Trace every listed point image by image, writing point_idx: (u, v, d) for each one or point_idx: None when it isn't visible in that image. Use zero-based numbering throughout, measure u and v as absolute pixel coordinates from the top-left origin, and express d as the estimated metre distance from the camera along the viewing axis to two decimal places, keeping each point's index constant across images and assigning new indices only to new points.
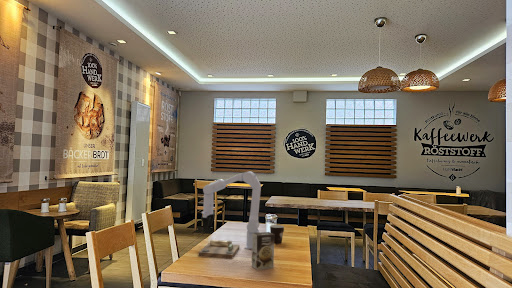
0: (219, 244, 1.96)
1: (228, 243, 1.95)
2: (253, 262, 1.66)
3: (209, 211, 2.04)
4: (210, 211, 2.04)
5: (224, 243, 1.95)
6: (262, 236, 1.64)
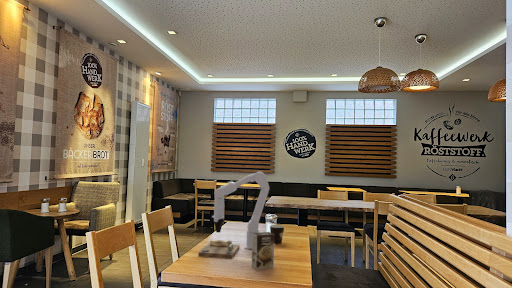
0: (219, 244, 1.96)
1: (228, 243, 1.95)
2: (253, 262, 1.66)
3: (220, 215, 2.00)
4: (221, 215, 2.01)
5: (224, 243, 1.95)
6: (262, 236, 1.64)
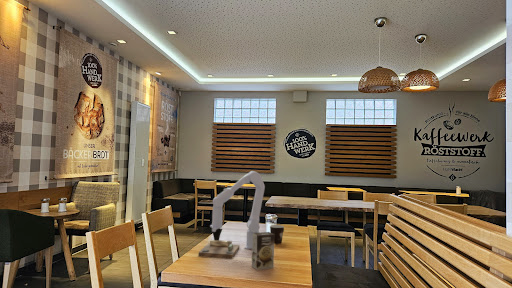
0: (219, 244, 1.96)
1: (228, 243, 1.95)
2: (253, 262, 1.66)
3: (218, 225, 1.97)
4: (219, 225, 1.97)
5: (224, 243, 1.95)
6: (262, 236, 1.64)
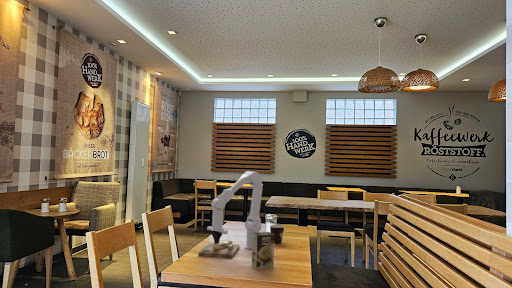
0: (223, 246, 1.91)
1: (230, 243, 1.95)
2: (253, 262, 1.66)
3: (222, 227, 1.91)
4: (222, 227, 1.92)
5: (227, 244, 1.93)
6: (262, 236, 1.64)
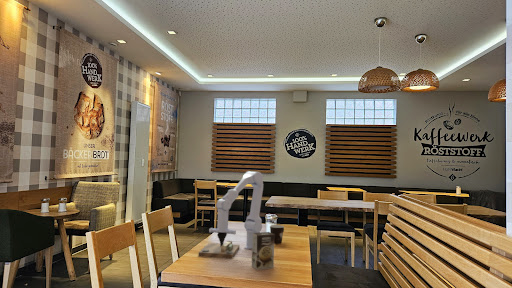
0: None
1: (231, 243, 1.95)
2: (253, 262, 1.66)
3: None
4: None
5: None
6: (262, 236, 1.64)
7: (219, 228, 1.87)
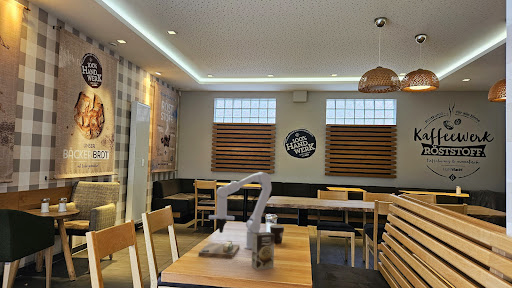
0: None
1: (231, 243, 1.96)
2: (253, 262, 1.66)
3: None
4: None
5: None
6: (262, 236, 1.64)
7: (219, 214, 1.95)
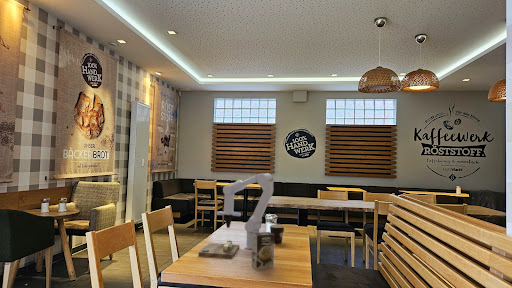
0: None
1: (231, 243, 1.96)
2: (253, 262, 1.66)
3: None
4: None
5: None
6: (262, 236, 1.64)
7: (226, 211, 2.08)
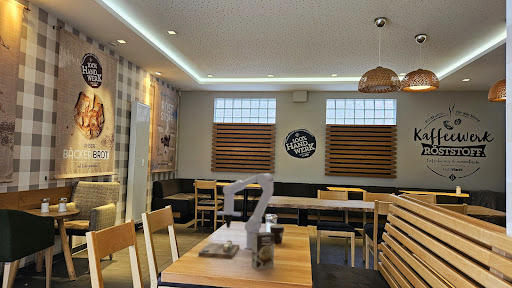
0: None
1: (231, 243, 1.96)
2: (253, 262, 1.66)
3: None
4: None
5: None
6: (262, 236, 1.64)
7: (226, 211, 2.08)
